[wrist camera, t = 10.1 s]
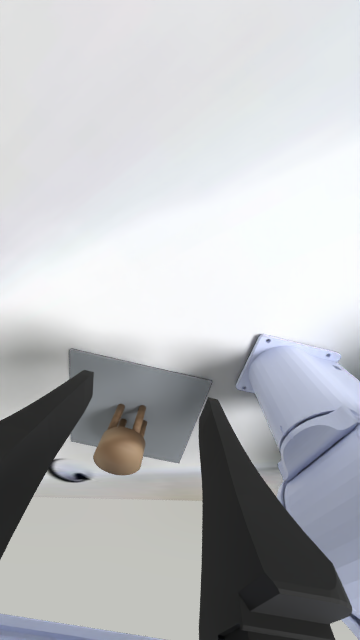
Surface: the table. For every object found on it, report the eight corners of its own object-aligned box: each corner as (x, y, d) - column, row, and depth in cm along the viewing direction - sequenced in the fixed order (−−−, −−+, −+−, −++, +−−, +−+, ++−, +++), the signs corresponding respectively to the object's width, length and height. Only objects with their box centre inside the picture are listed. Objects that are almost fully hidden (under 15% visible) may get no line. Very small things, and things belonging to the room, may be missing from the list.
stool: (150, 401, 24) (139, 448, 19) (152, 428, 27) (142, 476, 21) (111, 399, 25) (89, 444, 19) (116, 425, 27) (97, 473, 21)
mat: (211, 380, 23) (211, 382, 23) (179, 460, 30) (179, 463, 30) (71, 348, 22) (69, 350, 22) (72, 438, 29) (70, 441, 29)
